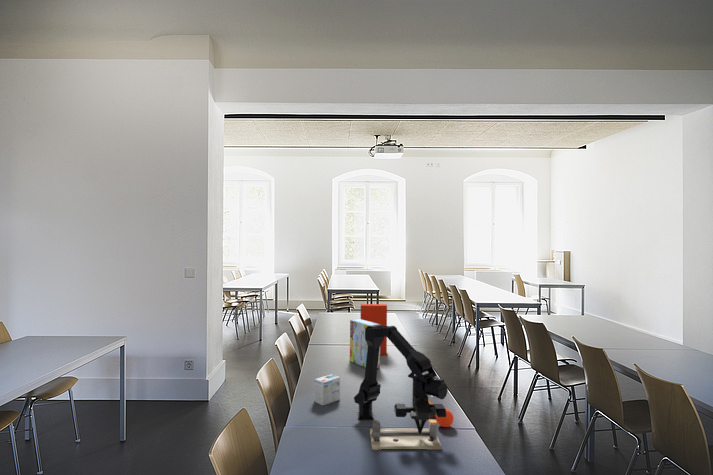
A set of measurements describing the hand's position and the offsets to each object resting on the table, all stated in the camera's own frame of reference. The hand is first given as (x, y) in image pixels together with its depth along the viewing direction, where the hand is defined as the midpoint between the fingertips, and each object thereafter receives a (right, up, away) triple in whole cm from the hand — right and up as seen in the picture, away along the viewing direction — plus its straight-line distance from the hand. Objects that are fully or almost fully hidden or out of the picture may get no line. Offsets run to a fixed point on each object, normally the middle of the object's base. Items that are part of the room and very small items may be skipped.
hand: (419, 433), depth 154 cm
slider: (+5, -1, 0) cm, 5 cm away
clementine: (+11, -3, +12) cm, 17 cm away
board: (-6, -3, 0) cm, 6 cm away
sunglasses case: (+7, -4, +28) cm, 29 cm away
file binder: (-12, -4, +119) cm, 120 cm away
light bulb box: (-37, -3, +38) cm, 53 cm away
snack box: (-19, -4, +94) cm, 96 cm away
